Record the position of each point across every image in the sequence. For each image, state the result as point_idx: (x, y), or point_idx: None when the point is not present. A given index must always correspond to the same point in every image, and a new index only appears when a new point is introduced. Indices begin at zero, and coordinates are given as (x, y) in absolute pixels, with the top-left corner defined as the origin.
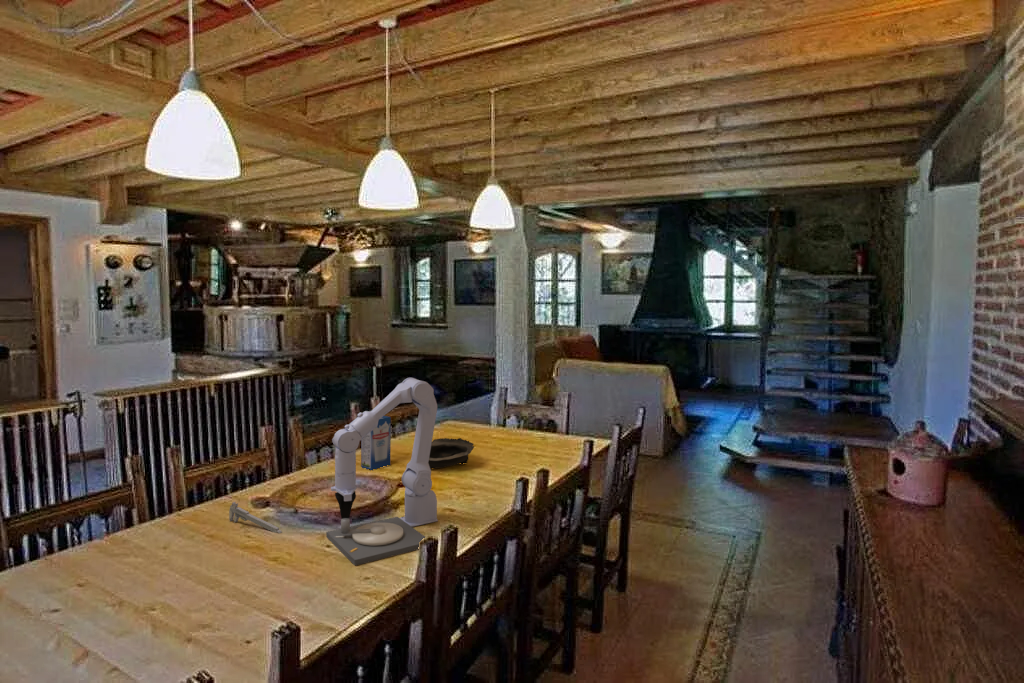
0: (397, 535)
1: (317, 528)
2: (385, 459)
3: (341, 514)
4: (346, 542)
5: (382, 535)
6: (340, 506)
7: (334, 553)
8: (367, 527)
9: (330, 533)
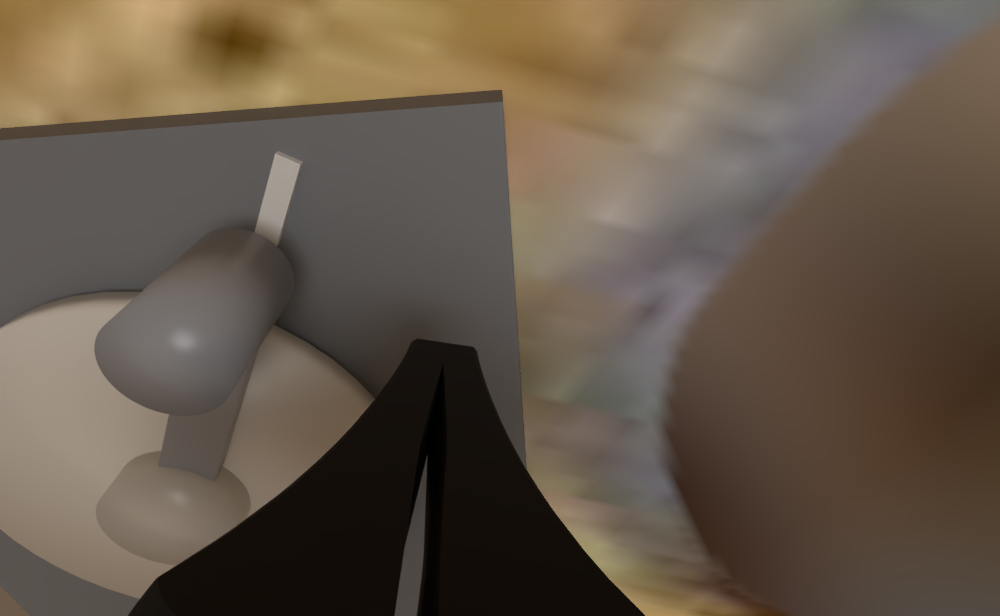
0: (78, 566)
1: (811, 61)
2: None
3: (394, 373)
4: (105, 220)
5: (93, 499)
6: (320, 468)
7: (3, 48)
8: (318, 459)
9: (430, 133)
